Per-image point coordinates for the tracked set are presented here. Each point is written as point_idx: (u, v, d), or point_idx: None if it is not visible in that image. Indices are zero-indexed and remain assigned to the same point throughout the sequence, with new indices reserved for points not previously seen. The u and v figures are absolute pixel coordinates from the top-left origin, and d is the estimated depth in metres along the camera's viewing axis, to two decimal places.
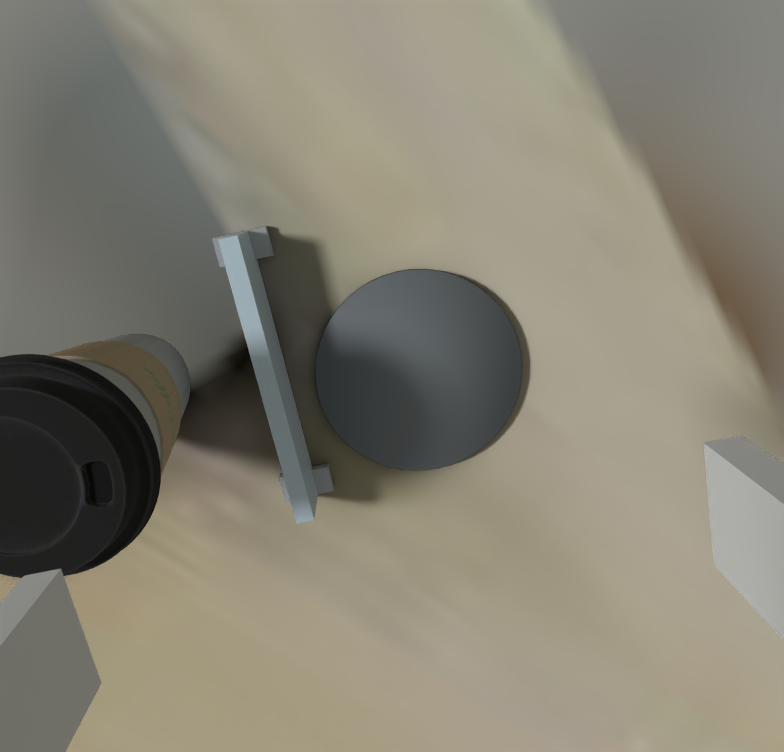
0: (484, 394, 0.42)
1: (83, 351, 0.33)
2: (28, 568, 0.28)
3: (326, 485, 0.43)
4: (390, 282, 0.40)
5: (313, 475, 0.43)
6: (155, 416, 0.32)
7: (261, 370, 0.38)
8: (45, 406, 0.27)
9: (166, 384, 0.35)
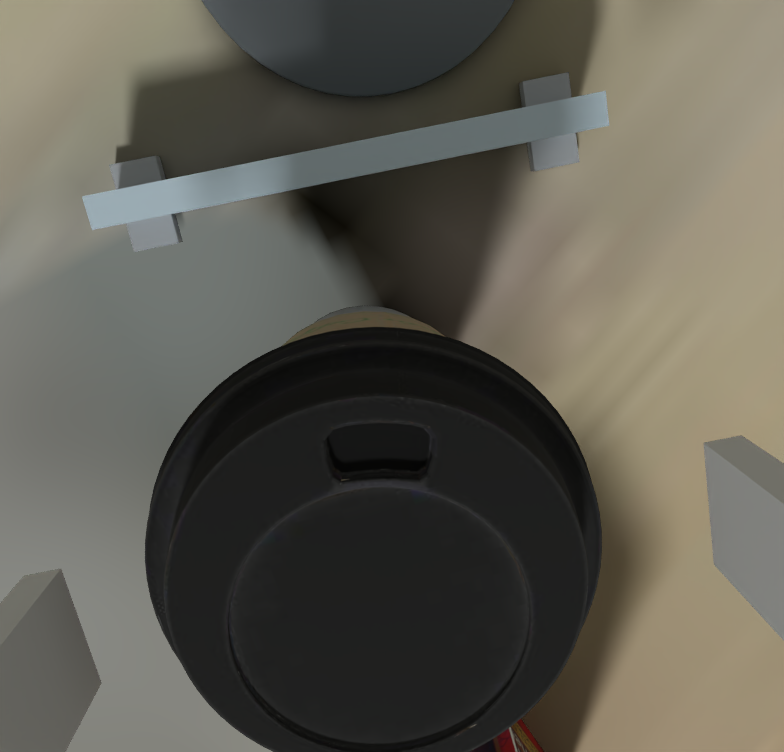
0: None
1: None
2: (563, 605, 0.14)
3: (557, 85, 0.25)
4: None
5: None
6: None
7: (316, 171, 0.22)
8: (199, 535, 0.13)
9: (312, 327, 0.20)
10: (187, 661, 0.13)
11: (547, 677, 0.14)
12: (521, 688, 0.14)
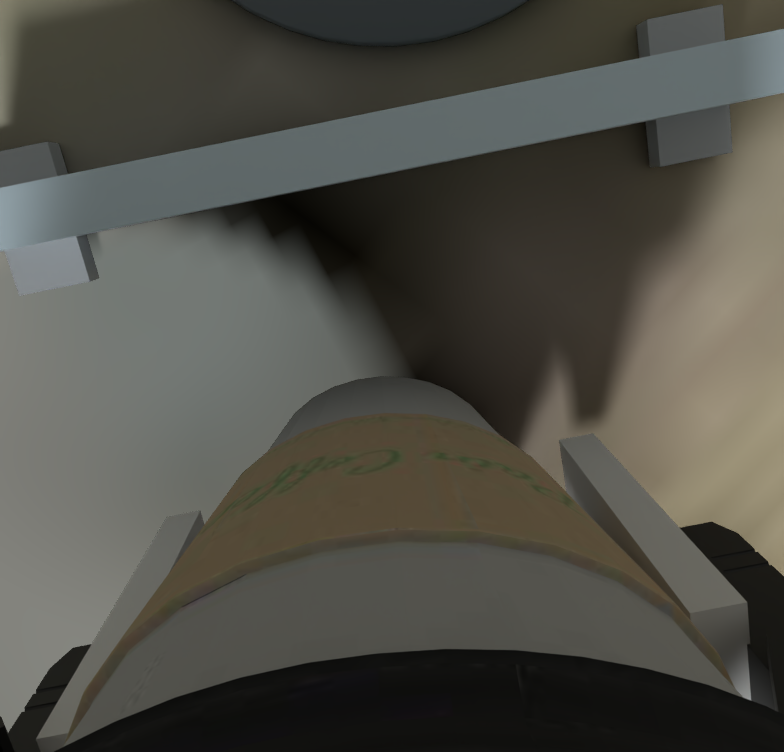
0: None
1: None
2: None
3: (702, 26, 0.15)
4: None
5: None
6: (300, 553, 0.07)
7: (304, 166, 0.12)
8: None
9: (293, 457, 0.11)
10: None
11: None
12: None
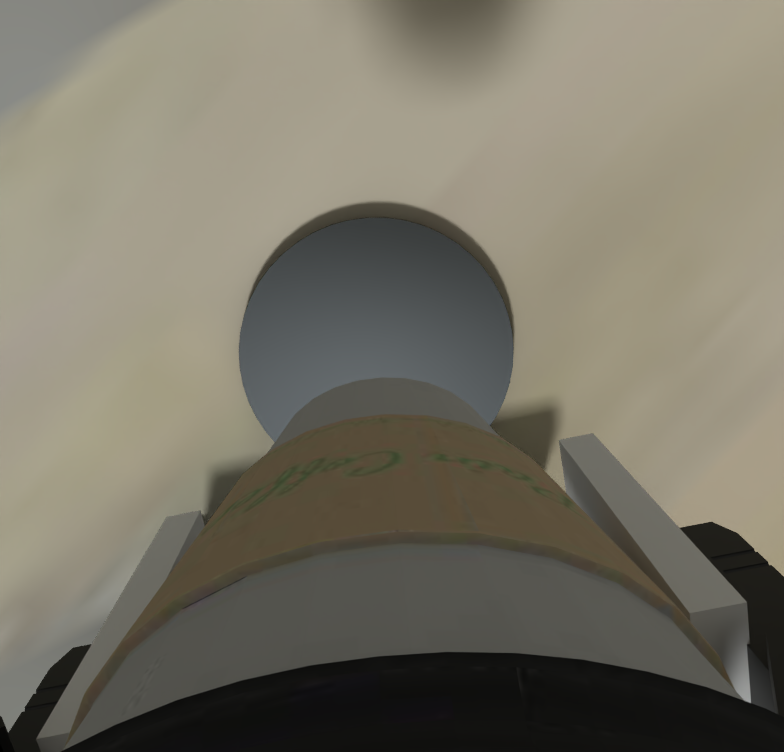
0: (408, 270, 0.31)
1: None
2: None
3: None
4: (255, 393, 0.32)
5: None
6: (301, 555, 0.07)
7: None
8: None
9: (293, 458, 0.11)
10: None
11: None
12: None
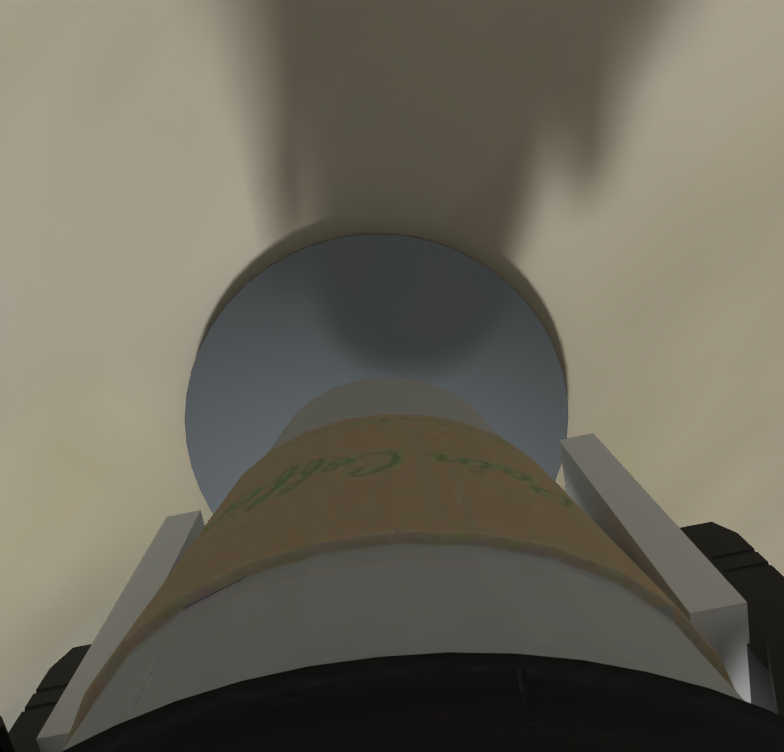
0: (422, 309, 0.22)
1: None
2: None
3: None
4: (209, 478, 0.23)
5: None
6: (301, 555, 0.07)
7: None
8: None
9: (293, 458, 0.11)
10: None
11: None
12: None
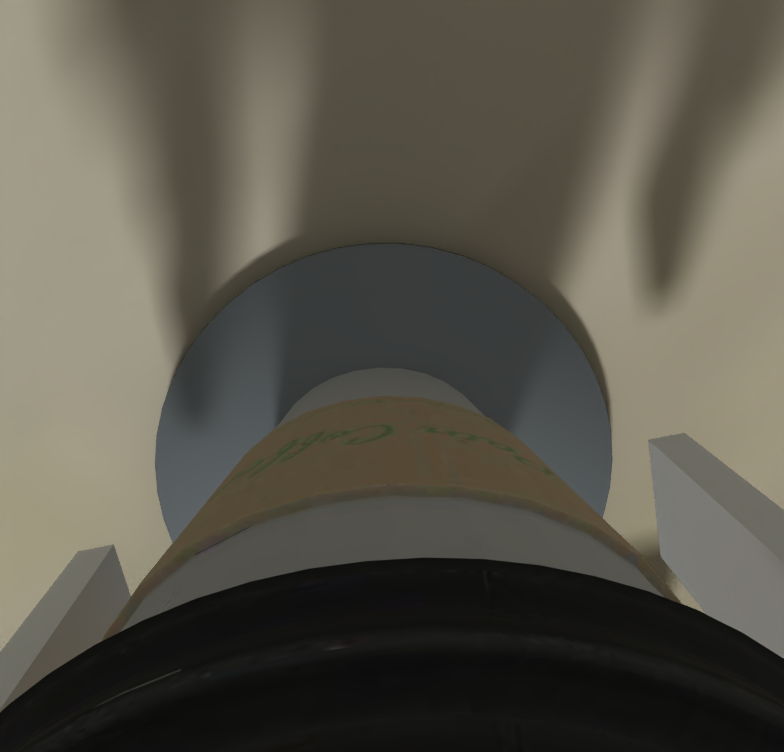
0: (439, 333, 0.18)
1: None
2: None
3: None
4: None
5: None
6: (301, 506, 0.08)
7: None
8: None
9: (294, 434, 0.12)
10: None
11: None
12: None
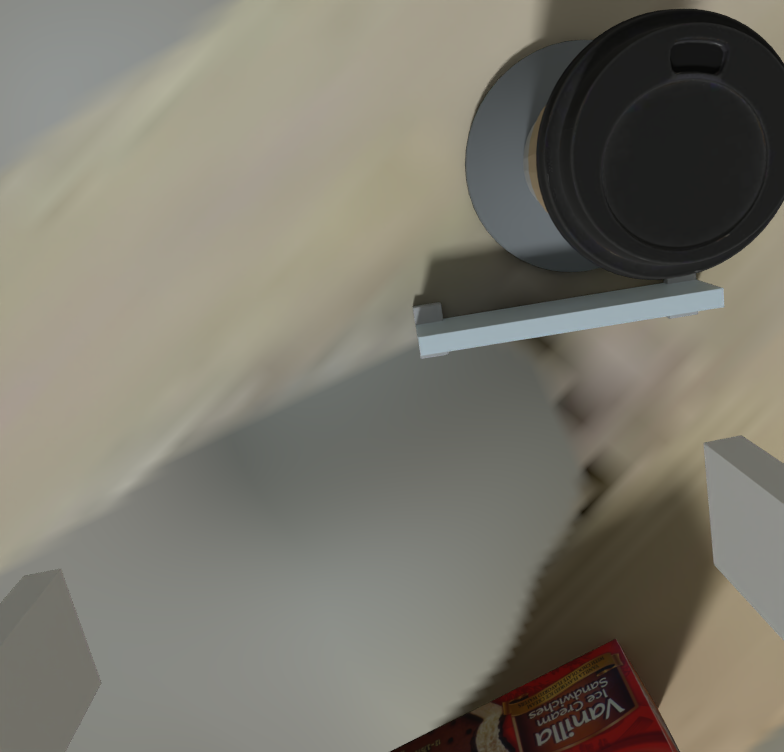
0: None
1: None
2: None
3: None
4: (476, 187, 0.39)
5: (673, 282, 0.41)
6: None
7: (552, 327, 0.38)
8: (597, 101, 0.24)
9: None
10: (578, 180, 0.25)
11: (772, 206, 0.25)
12: (757, 212, 0.25)
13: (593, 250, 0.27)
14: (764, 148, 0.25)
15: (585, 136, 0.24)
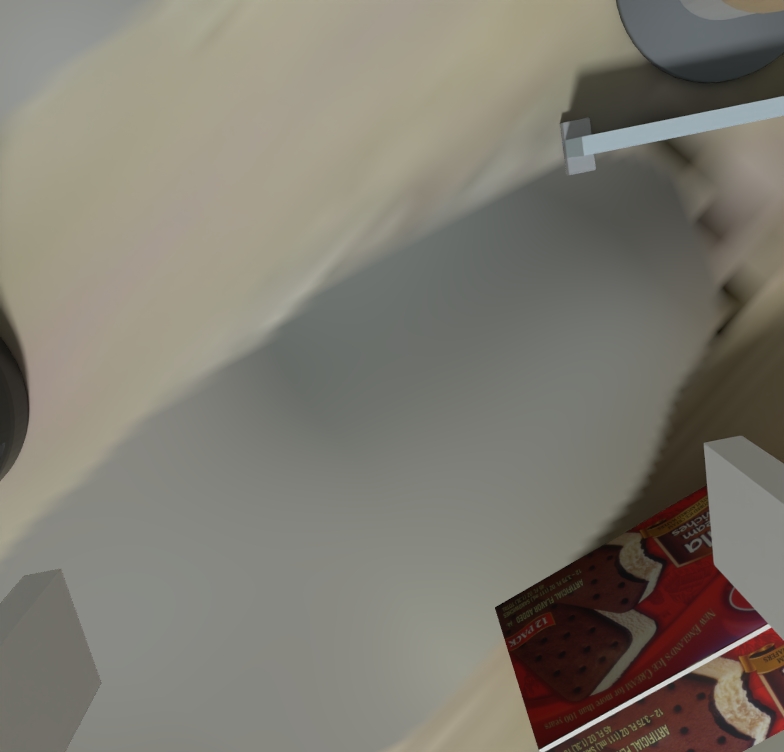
0: None
1: None
2: None
3: None
4: None
5: None
6: None
7: (710, 123, 0.39)
8: None
9: None
10: None
11: None
12: None
13: None
14: None
15: None
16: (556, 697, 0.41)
